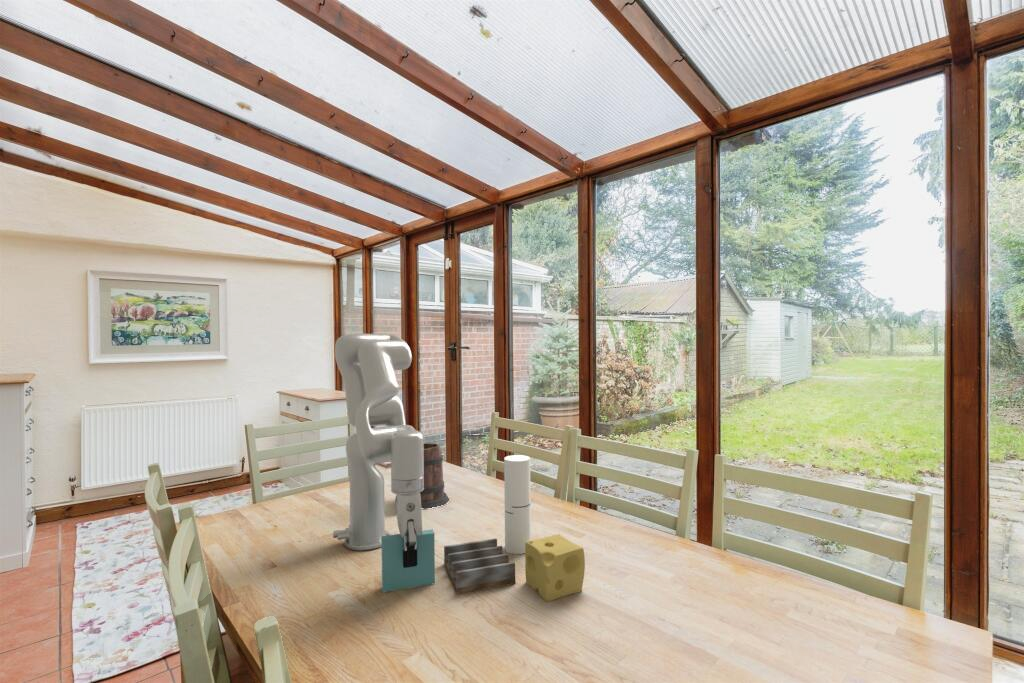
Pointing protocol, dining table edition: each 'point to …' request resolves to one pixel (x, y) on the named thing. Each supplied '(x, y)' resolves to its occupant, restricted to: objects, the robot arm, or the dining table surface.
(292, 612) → the dining table surface
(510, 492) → the cylindrical container
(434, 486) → the tankard
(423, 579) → the teal slab
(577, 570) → the cheese
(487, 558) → the rack
